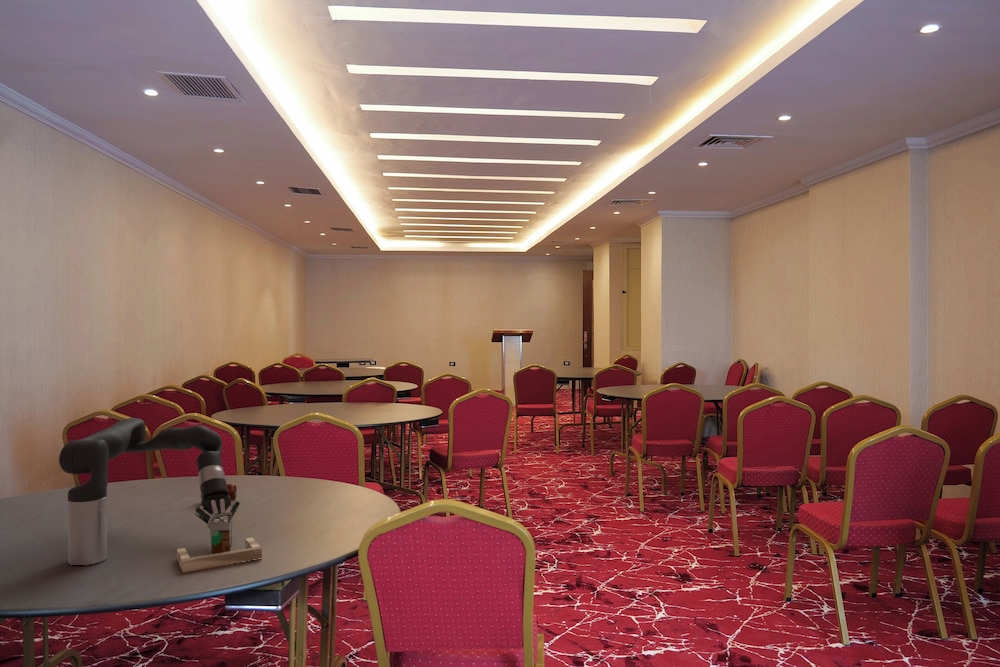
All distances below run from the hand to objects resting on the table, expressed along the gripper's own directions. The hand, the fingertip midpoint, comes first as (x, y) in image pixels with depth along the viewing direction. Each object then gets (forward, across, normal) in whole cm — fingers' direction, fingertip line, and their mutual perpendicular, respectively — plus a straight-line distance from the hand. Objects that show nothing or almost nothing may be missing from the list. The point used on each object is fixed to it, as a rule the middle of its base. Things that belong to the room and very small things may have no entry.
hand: (222, 534), depth 201 cm
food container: (+6, +2, +1) cm, 6 cm away
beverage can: (-35, -11, -44) cm, 58 cm away
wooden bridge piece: (+9, +3, +4) cm, 11 cm away
